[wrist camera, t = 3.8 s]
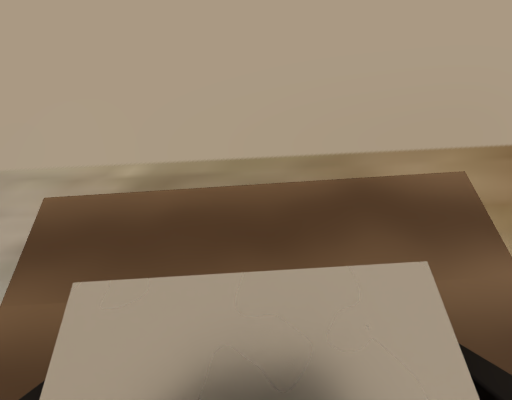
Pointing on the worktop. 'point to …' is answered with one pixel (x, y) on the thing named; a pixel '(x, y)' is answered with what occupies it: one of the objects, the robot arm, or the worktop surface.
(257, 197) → the walnut pocket block
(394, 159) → the worktop surface
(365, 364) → the aluminium bar
